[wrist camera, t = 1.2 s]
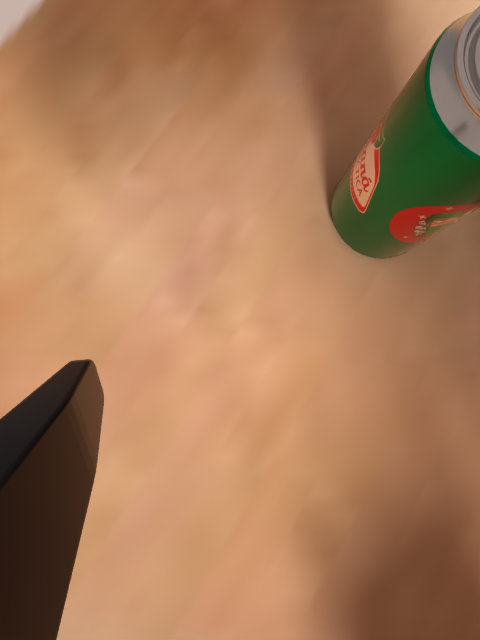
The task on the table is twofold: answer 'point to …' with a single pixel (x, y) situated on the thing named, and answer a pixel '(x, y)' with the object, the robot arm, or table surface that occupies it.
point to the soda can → (419, 154)
